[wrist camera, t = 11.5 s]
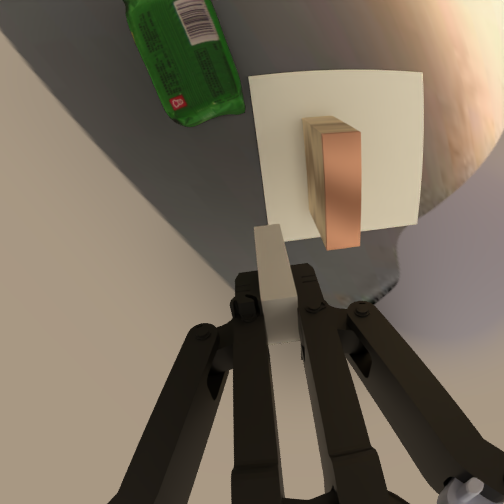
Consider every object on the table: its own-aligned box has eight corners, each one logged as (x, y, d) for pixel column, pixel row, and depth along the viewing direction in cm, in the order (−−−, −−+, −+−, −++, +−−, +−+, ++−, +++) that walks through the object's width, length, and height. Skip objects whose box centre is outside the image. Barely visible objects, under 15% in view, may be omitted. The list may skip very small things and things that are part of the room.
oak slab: (301, 117, 29) (322, 134, 22) (332, 115, 29) (360, 132, 22) (309, 210, 34) (326, 250, 27) (336, 207, 34) (359, 245, 27)
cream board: (248, 76, 27) (248, 76, 27) (420, 72, 26) (422, 72, 26) (270, 241, 36) (270, 243, 36) (415, 222, 36) (416, 224, 36)
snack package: (198, -31, 21) (190, -48, 16) (252, 107, 29) (254, 114, 24) (128, -2, 22) (109, -12, 17) (182, 132, 30) (172, 144, 25)
